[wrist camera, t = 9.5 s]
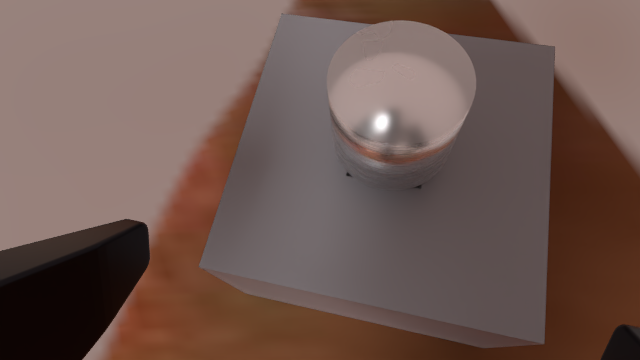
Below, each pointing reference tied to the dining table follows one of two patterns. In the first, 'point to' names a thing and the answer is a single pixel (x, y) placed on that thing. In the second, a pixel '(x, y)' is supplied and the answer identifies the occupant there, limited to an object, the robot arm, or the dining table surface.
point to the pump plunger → (398, 102)
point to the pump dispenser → (394, 202)
